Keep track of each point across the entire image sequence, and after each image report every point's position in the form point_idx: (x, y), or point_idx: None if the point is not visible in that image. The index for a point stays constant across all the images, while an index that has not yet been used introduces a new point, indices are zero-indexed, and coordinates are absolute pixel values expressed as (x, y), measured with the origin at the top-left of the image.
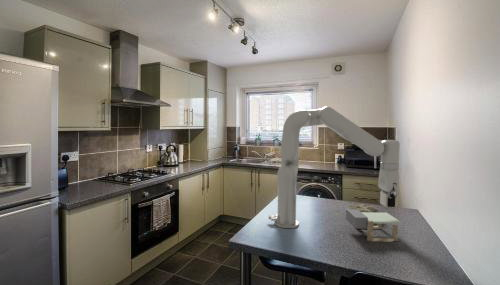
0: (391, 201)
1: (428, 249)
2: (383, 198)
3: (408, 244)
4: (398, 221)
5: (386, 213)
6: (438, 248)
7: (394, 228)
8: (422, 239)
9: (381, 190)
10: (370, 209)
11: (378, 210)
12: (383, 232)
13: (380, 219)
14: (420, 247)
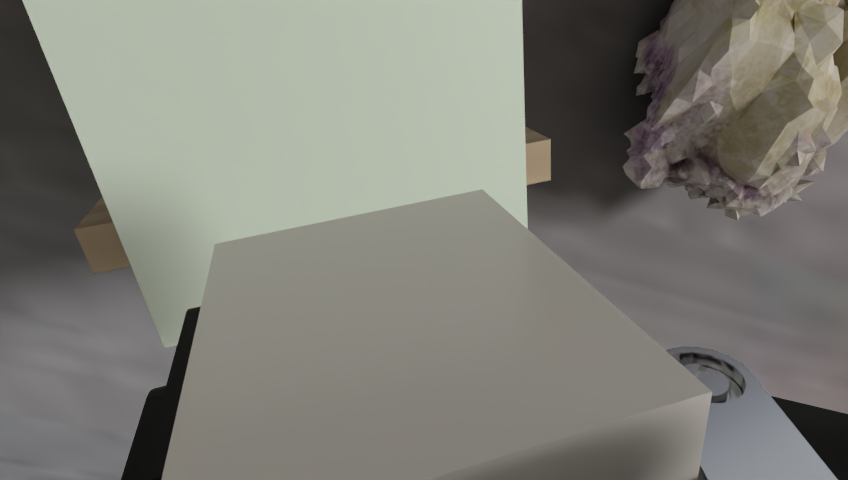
0: (136, 475)
1: (62, 405)
2: (350, 317)
3: (113, 283)
4: (169, 321)
5: None
6: (122, 470)
7: (85, 220)
8: None
9: (800, 442)
10: (754, 110)
11: (733, 208)
12: None
13: (171, 69)
14: (82, 359)
